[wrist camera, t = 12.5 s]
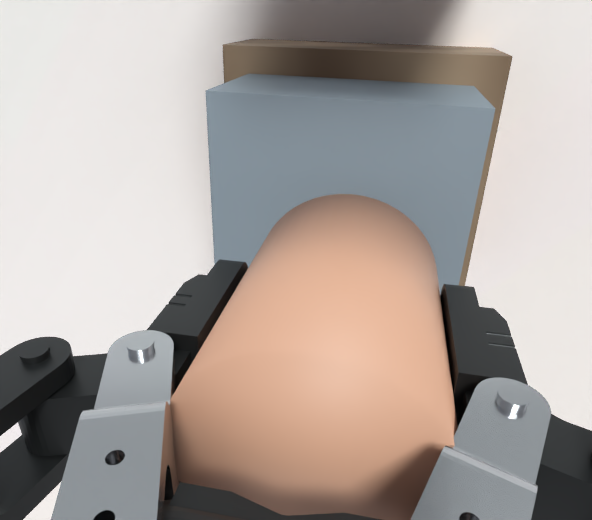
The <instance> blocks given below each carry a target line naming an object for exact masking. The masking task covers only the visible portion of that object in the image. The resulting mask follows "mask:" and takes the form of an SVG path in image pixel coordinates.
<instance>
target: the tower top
mask: <svg viewBox="0 0 592 520" xmlns="http://www.w3.org/2000/svg"><path fill="white" fill-rule="evenodd" d="M206 106H207V126H208V145H209V164H210V184H211V203H212V222H213V242H214V261H215V264H216V262H217V261H218V260H219V259H222V260H232V261H241V262H246V263H247V265H248V268H249V266H250V264H251V263H252V261H253V259H254V257H255V256H256V254H257V252H258V251H259V249H260V247H261V246H262V244H263V242H264V241H265V239H266V237H267V236H268V234H269V232H270V230H271V229H272V228H273V227H274V225H275V224H276V223H277V221H278V220H279V219H280V218H282V217H283V216H284V215H285V214H286V213H287V212H289V211H290V210H291V209H293V208H294V207H296V206H298V205H300V204H302V203H303V202H306V201H308V200H311V199H314V198H317V197H321V196H326V195H334V194H354V195H361V196H366V197H370V198H373V199H377V200H379V201H381V202H384V203H386V204H389V205H390V206H392V207H394V208H396V209H397V210H399V211H400V212H402V213H403V214H404V215H406V216H407V217H408V218H409V219H410V220H411V221H412V222H413V223H414V224H415V225H416V226H417V227H418V228H419V229H420V231H421V232H422V233H423V234H424V236H425V238H426V239H427V241H428V243H429V245H430V247H431V249H432V252H433V255H434V258H435V263H436V267H437V275H438V282H439V290H440V295H441V290H442V287H443V284H450V285H459V281H460V277H461V272H462V267H463V262H464V257H465V253H466V248H467V243H468V238H469V233H470V228H471V224H472V219H473V214H474V209H475V204H476V200H477V195H478V190H479V185H480V180H481V176H482V171H483V166H484V161H485V156H486V152H487V147H488V142H489V137H490V132H491V128H492V123H493V118H494V113H495V108H494V107H493V105H492V104H491V103H490V102H489V101H488V100H487V99H486V98H485V97H484V96H483V95H482V94H481V93H480V92H479V91H478V90H477V89H476V87H475V86H465V85H447V84H429V83H411V82H393V81H375V80H357V79H339V78H321V77H303V76H285V75H267V74H246V75H244V76H241V77H239V78H236V79H234V80H231V81H229V82H226V83H224V84H221V85H219V86H216V87H214V88H211V89H208V90H206Z"/></svg>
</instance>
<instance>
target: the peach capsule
mask: <svg viewBox="0 0 592 520" xmlns="http://www.w3.org/2000/svg"><path fill="white" fill-rule="evenodd" d="M170 402H171V410H172V417H173V443H174V452H175V459H176V467H177V474H178V481H181V482H182V483H188V484H193V485H198V486H204V487H209V488H215V489H220V490H225V491H231V492H233V493H236V494H238V495H240V496H242V497H244V498H246V499H248V500H251V501H253V502H255V503H257V504H259V505H261V506H263V507H266V508H268V509H270V510H272V511H274V512H276V513H279V514H281V515H289V516H291V515H309V514H328V513H349V514H354V515H360V516H365V517H371V518H376V519H381V520H411V517H412V515H413V513H414V511H415V509H416V507H417V504H418V502H419V500H420V498H421V496H422V493H423V491H424V489H425V487H426V485H427V482H428V480H429V478H430V476H431V474H432V471H433V469H434V467H435V465H436V463H437V461H438V458H439V456H440V454H441V452H442V450H443V448H444V447H445V446H446V445H447V446H450V445H454V446H455V444H454V435H455V433H456V431H457V429H458V425H457V418H456V410H455V403H454V395H453V388H452V380H451V373H450V365H449V358H448V350H447V343H446V335H445V327H444V320H443V312H442V305H441V297H440V290H439V282H438V275H437V267H436V263H435V258H434V255H433V252H432V249H431V247H430V245H429V243H428V241H427V239H426V238H425V236H424V234H423V233H422V232H421V231H420V229H419V228H418V227H417V226H416V225H415V224H414V223H413V222H412V221H411V220H410V219H409V218H408V217H407V216H406V215H404V214H403V213H402V212H400V211H399V210H397V209H396V208H394V207H392V206H390V205H389V204H386V203H384V202H381V201H379V200H377V199H373V198H370V197H366V196H361V195H354V194H334V195H326V196H321V197H317V198H314V199H311V200H308V201H306V202H303V203H302V204H300V205H298V206H296V207H294V208H293V209H291V210H290V211H289V212H287V213H286V214H285V215H284V216H283V217H282V218H280V219H279V220H278V221H277V223H276V224H275V225H274V227H273V228H272V229H271V230H270V232H269V234H268V236H267V237H266V239H265V241H264V242H263V244H262V246H261V247H260V249H259V251H258V252H257V254H256V256H255V257H254V259H253V261H252V263H251V264H250V266H249V268H248V269H247V271H246V273H245V274H244V276H243V278H242V279H241V281H240V283H239V284H238V286H237V288H236V290H235V291H234V293H233V295H232V296H231V298H230V300H229V301H228V303H227V305H226V306H225V308H224V310H223V311H222V313H221V315H220V317H219V318H218V320H217V322H216V323H215V325H214V327H213V328H212V330H211V332H210V333H209V335H208V337H207V338H206V340H205V342H204V344H203V345H202V347H201V349H200V350H199V352H198V354H197V355H196V357H195V359H194V360H193V362H192V364H191V366H190V367H189V369H188V371H187V372H186V374H185V376H184V377H183V379H182V381H181V382H180V384H179V386H178V387H177V389H176V391H175V393H174V394H173V396H172V398H171V399H170Z"/></svg>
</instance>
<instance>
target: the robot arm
mask: <svg viewBox="0 0 592 520" xmlns="http://www.w3.org/2000/svg"><path fill="white" fill-rule="evenodd" d="M247 269H248V265H247V263H246V262H241V261H232V260H222V259H219V260H218V261H217V262H216V264H215V265H214V267H213V268H212V269H211V271H210V272H209V273H208V275H197V276H195V277H194V278H192V279H190V280H188V281H187V282H185V283H184V284H183V285H182V286H181V288H180V289H179V290H178V291H177V293H176V296H173V298H172V299H171V300H170V301H169V305H168V304H167V305H166V306H165V308H164V309H163V310H162V312H161V313H160V314H159V315H158V317H157V318H156V319H155V320H154V322H153V323H152V324H151V325H150V327H149V328H148V329H147V330H143V331H137V332H133V333H130V334H127V335H125V336H123V337H121V338H119V339H118V340H117V341H115V342H114V343H113V344H112V345H111V347H110V348H109V351H108V353H106V354H97V355H84V356H73V354H72V350H71V347H70V344H69V343H68V342H67V341H66V340H64V339H61V338H57V337H40V338H35V339H31V340H28V341H25V342H23V343H20V344H18V345H16V346H15V347H13V348H11V349H10V350H8V351H7V352H5V353H4V354H2V355H0V436H1V435H2V434H3V433H5V432H6V431H7V430H8V429H10V428H11V427H12V426H13V425H15V424H16V423H17V422H18V423H19V426H20V429H21V433H22V435H21V436H20V437H19V438H18V439H17V440H15V441H14V442H13V443H12V444H10V445H9V446H8V447H7V448H6V449H4V450H3V451H2V452H1V453H0V520H23V519H24V518H25V517H26V516H27V515H28V514H29V513H30V512H31V511H32V510H33V509H34V508H35V507H36V506H37V505H38V504H39V503H40V502H41V501H42V500H43V499H44V498H45V497H46V496H47V495H48V494H49V493H50V492H51V491H52V490H53V489H54V488H55V487H56V486H57V485H58V484H59V483H60V482H61V481H62V482H61V486H60V489H59V493H58V496H57V500H56V503H55V507H54V511H53V514H52V518H51V520H381V519H376V518H371V517H365V516H360V515H354V514H349V513H328V514H309V515H291V516H289V515H281V514H279V513H276V512H274V511H272V510H270V509H268V508H266V507H263V506H261V505H259V504H257V503H255V502H253V501H251V500H248V499H246V498H244V497H242V496H240V495H238V494H236V493H233V492H231V491H225V490H220V489H215V488H209V487H204V486H198V485H193V484H188V483H182V482H181V481H178V474H177V467H176V459H175V452H174V443H173V417H172V410H171V402H170V399H171V398H172V396H173V394H174V393H175V391H176V389H177V387H178V386H179V384H180V382H181V381H182V379H183V377H184V376H185V374H186V372H187V371H188V369H189V367H190V366H191V364H192V362H193V360H194V359H195V357H196V355H197V354H198V352H199V350H200V349H201V347H202V345H203V344H204V342H205V340H206V338H207V337H208V335H209V333H210V332H211V330H212V328H213V327H214V325H215V323H216V322H217V320H218V318H219V317H220V315H221V313H222V311H223V310H224V308H225V306H226V305H227V303H228V301H229V300H230V298H231V296H232V295H233V293H234V291H235V290H236V288H237V286H238V284H239V283H240V281H241V279H242V278H243V276H244V274H245V273H246V271H247ZM440 297H441V305H442V312H443V320H444V327H445V335H446V343H447V350H448V358H449V365H450V373H451V380H452V388H453V395H454V403H455V410H456V418H457V425H458V429H457V431H456V433H455V435H454V444H455V446H454V445H450V446H447V445H446V446H445V447H444V448H443V450H442V452H441V454H440V456H439V458H438V461H437V463H436V465H435V467H434V469H433V471H432V474H431V476H430V478H429V480H428V482H427V485H426V487H425V489H424V491H423V493H422V496H421V498H420V500H419V502H418V504H417V507H416V509H415V511H414V513H413V515H412V517H411V520H592V431H590V430H587V429H585V428H582V427H579V426H576V425H573V424H571V423H568V422H566V421H563V420H561V419H559V418H558V417H556V416H554V415H552V414H551V409H550V406H549V404H548V402H547V401H546V399H545V398H544V397H543V396H542V395H541V394H540V393H539V392H538V391H536V390H535V389H533V388H532V387H530V386H528V384H527V381H526V378H525V375H524V372H523V369H522V366H521V363H520V360H519V357H518V354H517V351H516V349H515V345H514V342H513V339H512V337H511V333H510V330H509V327H508V324H507V321H506V320H505V319H504V318H503V317H502V316H501V315H500V314H499V313H498V312H497V311H496V310H495V309H493V308H484V307H479V304H478V300H477V296H476V293H475V289H474V287H468V286H459V285H450V284H443V287H442V290H441V295H440Z"/></svg>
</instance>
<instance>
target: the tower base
mask: <svg viewBox="0 0 592 520" xmlns="http://www.w3.org/2000/svg"><path fill="white" fill-rule="evenodd" d="M511 61H512V56H510V55H508V54H506V53H503V52H501V51H499V50H496V49H494V48H482V47H455V46H429V45H402V44H375V43H349V42H322V41H296V40H269V39H250V40H245V41H240V42H234V43H229V44H224V45H223V64H224V83H226V82H229V81H231V80H234V79H236V78H239V77H241V76H244V75H246V74H267V75H285V76H303V77H321V78H339V79H357V80H375V81H393V82H411V83H429V84H447V85H465V86H475V87H476V89H477V90H478V91H479V92H480V93H481V94H482V95H483V96H484V97H485V98H486V99H487V100H488V101H489V102H490V103H491V104H492V105H493V107H494V108H495V113H494V118H493V123H492V128H491V132H490V137H489V142H488V147H487V152H486V156H485V161H484V166H483V171H482V176H481V180H480V185H479V190H478V195H477V200H476V204H475V209H474V214H473V219H472V224H471V228H470V233H469V238H468V243H467V248H466V253H465V257H464V262H463V267H462V272H461V277H460V281H459V286H465V281H466V276H467V272H468V267H469V262H470V257H471V252H472V248H473V243H474V238H475V233H476V229H477V224H478V219H479V214H480V209H481V205H482V200H483V195H484V190H485V185H486V181H487V176H488V171H489V166H490V161H491V157H492V152H493V147H494V142H495V137H496V133H497V128H498V123H499V118H500V114H501V109H502V104H503V99H504V94H505V90H506V85H507V80H508V75H509V70H510V66H511Z"/></svg>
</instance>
